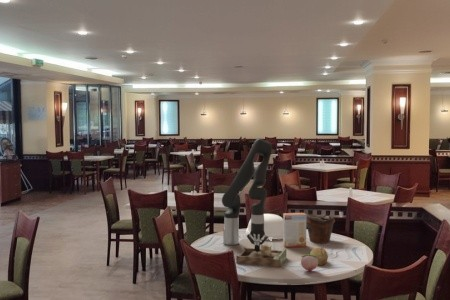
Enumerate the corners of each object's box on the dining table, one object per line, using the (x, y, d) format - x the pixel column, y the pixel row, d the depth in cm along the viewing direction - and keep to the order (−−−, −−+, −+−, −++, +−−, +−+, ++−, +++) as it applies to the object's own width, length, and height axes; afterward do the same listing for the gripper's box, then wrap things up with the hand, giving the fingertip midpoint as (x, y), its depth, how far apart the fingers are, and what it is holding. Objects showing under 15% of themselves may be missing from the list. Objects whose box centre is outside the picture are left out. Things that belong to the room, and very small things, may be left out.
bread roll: (323, 258, 289) (323, 244, 289) (330, 266, 275) (330, 252, 274) (307, 258, 289) (307, 245, 288) (313, 266, 274) (313, 252, 273)
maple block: (260, 254, 285) (260, 246, 285) (262, 252, 290) (262, 244, 290) (269, 255, 284) (269, 246, 284) (271, 253, 289) (271, 244, 288)
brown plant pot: (341, 241, 327) (341, 214, 326) (319, 246, 316) (319, 218, 315) (321, 236, 342) (321, 210, 341) (299, 240, 330) (299, 214, 329)
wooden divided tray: (236, 262, 280) (236, 252, 279) (244, 254, 297) (244, 244, 297) (280, 267, 272) (280, 256, 272) (286, 258, 290) (286, 247, 289)
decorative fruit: (316, 268, 270) (316, 250, 269) (319, 273, 262) (319, 254, 261) (298, 268, 270) (299, 250, 269) (301, 273, 261) (301, 254, 261)
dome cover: (298, 235, 345) (298, 215, 344) (271, 243, 324) (271, 221, 323) (263, 227, 368) (263, 208, 367) (235, 234, 347) (235, 214, 346)
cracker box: (304, 244, 320) (304, 212, 318) (306, 247, 314) (306, 214, 312) (282, 244, 318) (282, 212, 317) (284, 247, 312) (284, 214, 311)
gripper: (244, 222, 286) (244, 252, 287) (267, 224, 282) (266, 254, 283) (248, 219, 293) (248, 248, 294) (270, 221, 289) (269, 250, 290)
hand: (257, 251), depth 288 cm, fingers closed
